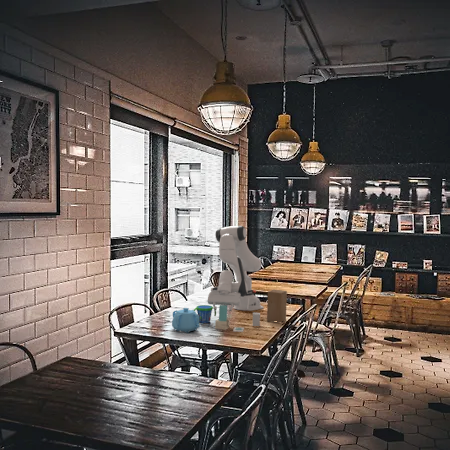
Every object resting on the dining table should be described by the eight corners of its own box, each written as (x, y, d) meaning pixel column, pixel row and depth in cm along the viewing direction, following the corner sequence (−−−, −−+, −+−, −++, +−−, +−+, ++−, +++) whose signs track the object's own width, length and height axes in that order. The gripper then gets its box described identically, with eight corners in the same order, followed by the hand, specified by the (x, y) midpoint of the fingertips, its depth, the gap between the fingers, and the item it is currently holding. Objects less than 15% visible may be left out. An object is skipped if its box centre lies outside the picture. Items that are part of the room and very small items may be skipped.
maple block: (218, 326, 320) (218, 318, 319) (229, 327, 318) (229, 319, 317) (215, 328, 313) (215, 320, 313) (225, 330, 311) (226, 322, 311)
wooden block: (266, 321, 336) (267, 291, 335) (272, 318, 344) (273, 289, 344) (280, 323, 331) (281, 293, 330) (286, 320, 340) (287, 290, 339)
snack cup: (193, 324, 322) (194, 308, 321) (191, 320, 332) (191, 305, 332) (217, 323, 326) (218, 308, 325) (214, 319, 336) (214, 304, 335)
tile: (234, 327, 316) (234, 326, 316) (243, 328, 315) (243, 327, 315) (233, 331, 307) (233, 330, 307) (243, 331, 306) (243, 330, 306)
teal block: (219, 319, 317) (220, 305, 317) (226, 319, 317) (227, 305, 316) (218, 320, 313) (219, 306, 312) (226, 321, 312) (226, 306, 312)
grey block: (252, 324, 325) (253, 312, 325) (259, 325, 325) (260, 312, 324) (252, 326, 321) (252, 314, 320) (259, 326, 320) (259, 314, 320)
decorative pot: (197, 327, 316) (198, 305, 316) (200, 333, 300) (200, 310, 300) (171, 327, 314) (172, 305, 314) (172, 333, 298) (172, 310, 298)
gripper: (241, 295, 325) (239, 313, 315) (209, 293, 327) (207, 312, 317) (240, 289, 320) (239, 307, 311) (208, 288, 322) (206, 306, 313)
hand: (222, 310), depth 314 cm, fingers open, 8 cm apart
